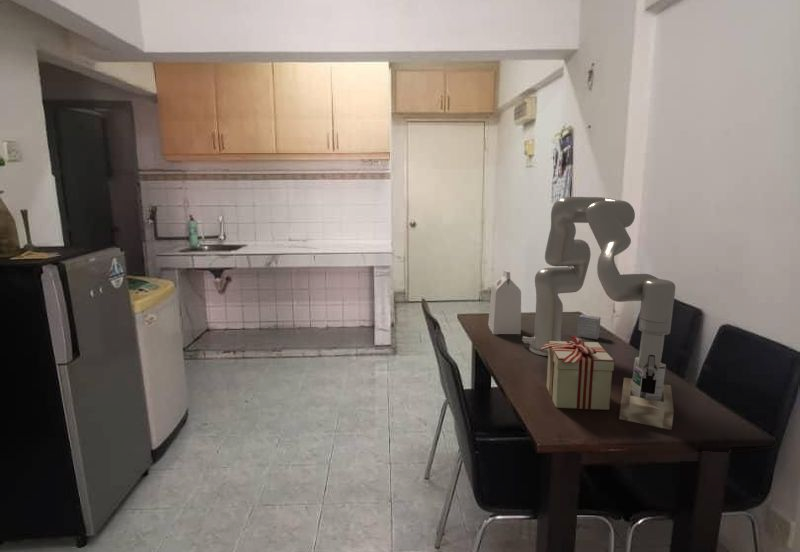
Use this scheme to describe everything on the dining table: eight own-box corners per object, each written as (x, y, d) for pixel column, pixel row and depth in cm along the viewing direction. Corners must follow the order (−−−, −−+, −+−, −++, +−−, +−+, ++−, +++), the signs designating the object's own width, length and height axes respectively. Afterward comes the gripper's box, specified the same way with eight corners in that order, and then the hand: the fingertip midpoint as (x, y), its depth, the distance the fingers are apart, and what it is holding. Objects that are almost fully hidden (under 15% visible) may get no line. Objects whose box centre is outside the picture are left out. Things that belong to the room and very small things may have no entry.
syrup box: (628, 405, 130) (633, 356, 128) (648, 405, 131) (654, 356, 128) (639, 415, 125) (645, 364, 122) (660, 414, 125) (667, 364, 123)
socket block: (619, 418, 123) (621, 401, 122) (622, 393, 138) (623, 377, 138) (671, 429, 117) (673, 411, 116) (668, 401, 133) (670, 385, 132)
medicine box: (599, 337, 191) (601, 316, 190) (597, 340, 188) (599, 319, 186) (579, 333, 195) (580, 314, 194) (576, 336, 192) (578, 316, 190)
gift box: (532, 386, 143) (535, 332, 140) (592, 387, 142) (597, 333, 139) (547, 412, 126) (552, 352, 123) (616, 414, 126) (622, 353, 122)
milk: (520, 334, 193) (524, 273, 189) (493, 334, 194) (496, 273, 189) (514, 326, 205) (517, 268, 200) (488, 326, 205) (490, 268, 201)
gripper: (639, 316, 133) (633, 372, 136) (638, 332, 118) (631, 395, 121) (669, 319, 129) (662, 377, 132) (672, 336, 114) (664, 401, 117)
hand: (647, 385), depth 127 cm, fingers open, 9 cm apart
